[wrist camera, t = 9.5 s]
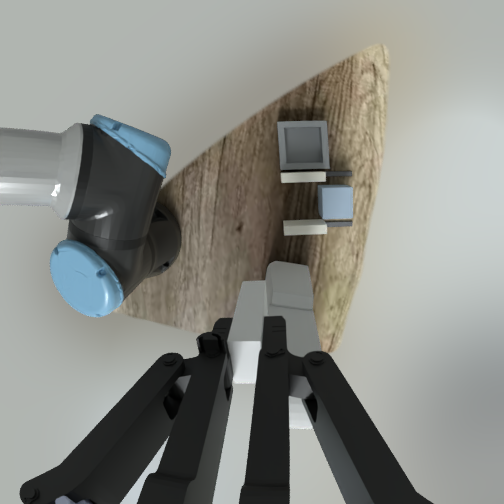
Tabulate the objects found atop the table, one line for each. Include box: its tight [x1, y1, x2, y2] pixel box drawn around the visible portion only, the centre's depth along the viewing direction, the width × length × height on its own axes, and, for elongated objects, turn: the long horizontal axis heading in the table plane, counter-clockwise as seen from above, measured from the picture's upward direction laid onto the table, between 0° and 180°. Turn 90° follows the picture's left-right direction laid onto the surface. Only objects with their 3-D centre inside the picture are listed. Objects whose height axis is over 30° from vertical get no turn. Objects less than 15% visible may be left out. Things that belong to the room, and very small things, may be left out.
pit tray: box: [277, 121, 330, 170], centre depth 43 cm, size 8×8×3 cm
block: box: [318, 185, 353, 219], centre depth 45 cm, size 5×5×5 cm
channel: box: [281, 171, 327, 236], centre depth 46 cm, size 7×10×4 cm
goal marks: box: [325, 171, 352, 227], centre depth 47 cm, size 5×10×1 cm, turn 4°
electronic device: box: [265, 261, 321, 429], centre depth 39 cm, size 12×8×30 cm, turn 172°
